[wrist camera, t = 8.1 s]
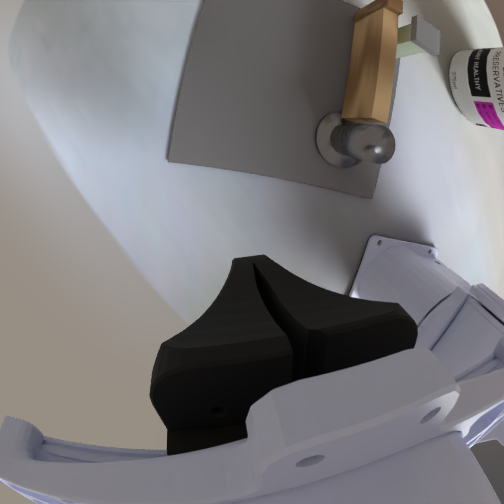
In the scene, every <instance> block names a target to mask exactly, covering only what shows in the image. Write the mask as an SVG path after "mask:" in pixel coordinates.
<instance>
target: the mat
mask: <svg viewBox="0 0 504 504" xmlns="http://www.w3.org/2000/svg"><path fill="white" fill-rule="evenodd" d="M358 10H360V8H357V7H355V6H353V5H350V4H348V3H346V2H343V1H341V0H204V2H203V5H202V8H201V11H200V15H199V18H198V21H197V25H196V28H195V32H194V35H193V39H192V43H191V47H190V51H189V55H188V59H187V63H186V67H185V71H184V76H183V80H182V85H181V90H180V95H179V100H178V105H177V110H176V115H175V121H174V127H173V132H172V139H171V145H170V152H169V159H168V162H173V163H182V164H190V165H198V166H206V167H213V168H220V169H227V170H233V171H240V172H246V173H252V174H258V175H263V176H269V177H274V178H280V179H285V180H290V181H295V182H300V183H305V184H310V185H314V186H319V187H324V188H328V189H332V190H337V191H341V192H345V193H349V194H353V195H357V196H361V197H365V198H369V199H372V197H373V193H374V190H375V186H376V182H377V178H378V174H379V170H380V166H381V164H376V163H372V162H369V161H365V160H362V161H361V162H360V163H359V164H357V165H356V166H353V167H350V168H339V167H336V166H333V165H331V164H329V163H327V162H326V161H325V160H324V159H323V158H322V157H321V156H320V154H319V152H318V150H317V148H316V144H315V131H316V127H317V125H318V123H319V121H320V120H321V119H322V118H323V117H324V116H325V115H326V114H328V113H330V112H333V111H339V110H343V105H344V99H345V93H346V86H347V80H348V73H349V66H350V58H351V51H352V43H353V34H354V25H355V24H354V14H355V12H357V11H358ZM399 64H400V58H396V60H395V70H394V79H393V87H392V95H391V102H390V109H389V115H388V121H387V124H386V123H365V124H378V125H383V126H385V127H387V128H388V129H389V125H390V120H391V115H392V110H393V104H394V98H395V92H396V85H397V79H398V71H399Z"/></svg>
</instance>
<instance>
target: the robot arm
mask: <svg viewBox="0 0 504 504" xmlns="http://www.w3.org/2000/svg"><path fill="white" fill-rule="evenodd" d="M379 240H380V242H379V243H378V244H377V242H378V241H379ZM428 251H429V252H428ZM437 255H438V249H437V248H435V247H431V246H427V245H422V244H417V243H412V242H407V241H402V240H397V239H392V238H387V237H382V236H377V235H373V236H371V237H370V239H369V241H368V244H367V247H366V250H365V253H364V256H363V259H362V262H361V265H360V268H359V270H358V273H357V276H356V278H355V281H354V284H353V286H352V289H351V292H350V294H349V296H346V295H342V294H339V293H336V292H332V291H329V290H326V289H324V288H321V287H319V286H316V285H314V284H312V283H309V282H307V281H305V280H303V279H302V278H300V277H298V276H296V275H294V274H293V273H291V272H289V271H288V270H286V269H285V268H283V267H282V266H280V265H279V264H277V263H276V262H274V261H273V260H271V259H270V258H269V257H267V256H266V255H257V256H249V257H241V258H234V259H233V261H232V266H231V270H230V273H229V275H228V278H227V280H226V282H225V284H224V286H223V288H222V290H221V291H220V293H219V295H218V296H217V298H216V299H215V301H214V302H213V303H212V305H211V306H210V307H209V308H208V309H207V310H206V312H205V313H204V314H203V315H202V316H201V317H200V318H199V319H197V320H196V321H195V322H194V323H193V324H191V325H190V326H189V327H187V328H186V329H185V330H183V331H182V332H180V333H179V334H177V335H175V336H174V337H172V338H170V339H169V340H167V341H165V342H163V343H162V344H161V346H160V349H159V351H158V354H157V357H156V360H155V364H154V367H153V371H152V378H151V387H150V399H151V402H152V404H153V406H154V408H155V410H156V411H157V413H158V415H159V416H160V418H161V420H162V421H163V423H164V425H165V426H166V428H167V450H146V449H126V448H114V447H104V446H96V445H88V444H82V443H76V442H70V441H64V440H60V439H55V438H50V437H46V436H43V434H42V433H41V432H40V431H39V430H38V429H37V428H36V427H35V426H34V425H33V424H31V423H30V422H28V421H25V420H21V419H18V418H14V417H11V416H5V418H4V421H3V423H2V426H1V429H0V481H2V482H3V483H4V484H6V485H7V486H9V487H10V488H12V489H13V490H15V491H17V492H18V493H20V494H21V495H23V496H25V497H26V498H28V499H29V500H31V501H33V502H35V503H37V504H501V503H500V501H499V499H498V497H497V495H496V493H495V492H494V490H493V488H492V486H491V484H490V482H489V481H488V479H487V477H486V476H485V474H484V472H483V470H482V468H481V467H480V465H479V464H478V462H477V460H476V458H475V457H474V455H473V454H472V452H471V450H470V449H469V448H470V447H472V446H473V445H474V444H475V443H480V442H484V441H488V440H493V439H496V440H498V441H499V442H500V443H501V444H502V445H503V446H504V300H503V299H502V298H500V297H499V296H498V295H497V294H495V293H494V292H493V291H492V290H490V289H489V288H488V287H486V286H485V285H484V284H482V283H481V284H477V285H472V286H471V285H470V284H469V283H468V282H467V281H465V280H464V279H463V278H461V277H460V276H459V275H458V274H456V273H455V272H454V271H452V270H451V269H450V268H448V267H447V266H445V265H444V264H443V263H441V262H440V261H439V260H437V259H436V257H437Z"/></svg>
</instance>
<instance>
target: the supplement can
mask: <svg viewBox="0 0 504 504" xmlns="http://www.w3.org/2000/svg"><path fill="white" fill-rule="evenodd" d="M449 81H450V87H451V91H452V95H453V97H454V99H455V102H456V104H457V106H458V107H459V109H460V110H461V112H462V113H463V114H464V116H465V117H466V118H467V120H468V121H470V122H471V123H473V124H474V125H479V126H485V127H491V128H496V129H501V130H504V47H501V48H483V49H471V50H462V51H459V52H456V54H455V55H454V57H453V58H452V61H451V64H450V70H449Z"/></svg>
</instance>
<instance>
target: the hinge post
mask: <svg viewBox="0 0 504 504" xmlns="http://www.w3.org/2000/svg"><path fill="white" fill-rule="evenodd" d="M342 111H343V110H339V111H333V112H330V113H328V114H326V115H325V116H324V117H323V118H322V119H321V120H320V121H319V123H318V125H317V127H316V131H315V144H316V148H317V150H318V152H319V154H320V156H321V157H322V158H323V159H324V160H325V161H326V162H327V163H329V164H331V165H333V166H336V167H339V168H350V167H353V166H356V165H357V164H359V163H360V162H361V161H362V160H365V161H369V162H372V163H376V164H383V163H386V162H388V161H389V160H390V159H391V158H392V156H393V154H394V151H395V139H394V136H393V134H392V132H391V131H390V130H389V129H388V128H387V127H385V126H383V125H378V124H365V123H361V122H352V121H349V120H346V119H343V118H341V117H342Z"/></svg>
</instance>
